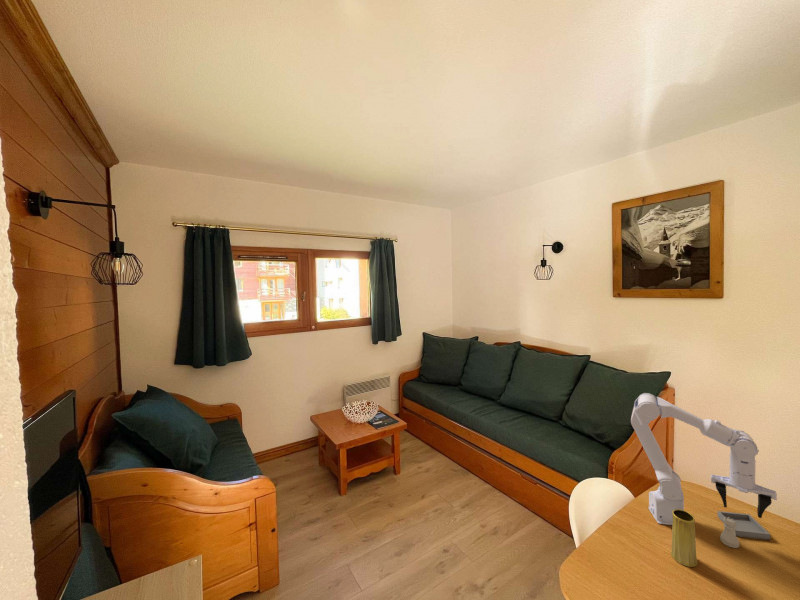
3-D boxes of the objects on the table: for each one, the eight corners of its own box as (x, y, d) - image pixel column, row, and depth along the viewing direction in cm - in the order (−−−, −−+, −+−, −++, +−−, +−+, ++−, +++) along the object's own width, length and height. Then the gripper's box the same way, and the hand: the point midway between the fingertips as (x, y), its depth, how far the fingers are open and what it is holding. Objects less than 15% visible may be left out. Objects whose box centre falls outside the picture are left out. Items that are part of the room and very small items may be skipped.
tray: (735, 536, 108) (735, 530, 108) (717, 516, 116) (717, 510, 116) (770, 540, 105) (770, 534, 105) (749, 519, 114) (749, 514, 114)
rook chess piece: (744, 548, 103) (743, 524, 102) (729, 549, 103) (729, 525, 103) (730, 537, 108) (729, 514, 107) (716, 538, 108) (715, 515, 107)
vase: (691, 552, 103) (690, 509, 102) (701, 569, 97) (701, 524, 96) (667, 548, 105) (666, 506, 104) (676, 565, 99) (675, 520, 98)
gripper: (711, 468, 107) (711, 508, 108) (778, 485, 97) (777, 528, 98) (710, 458, 112) (710, 496, 113) (774, 474, 102) (774, 515, 103)
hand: (741, 510), depth 106 cm, fingers open, 7 cm apart
